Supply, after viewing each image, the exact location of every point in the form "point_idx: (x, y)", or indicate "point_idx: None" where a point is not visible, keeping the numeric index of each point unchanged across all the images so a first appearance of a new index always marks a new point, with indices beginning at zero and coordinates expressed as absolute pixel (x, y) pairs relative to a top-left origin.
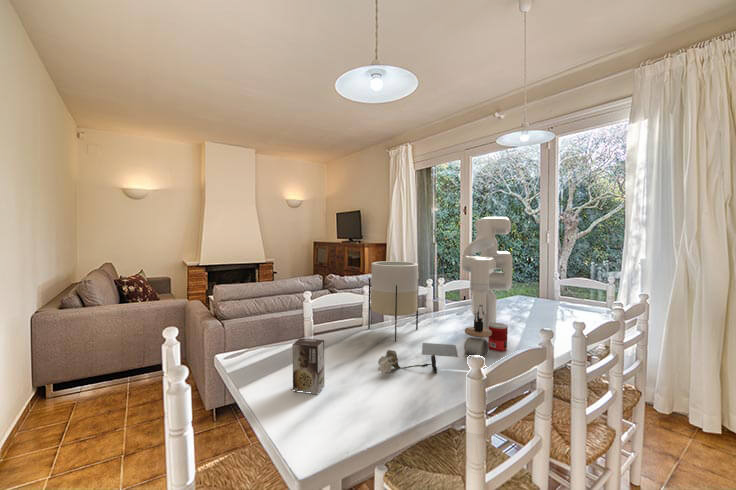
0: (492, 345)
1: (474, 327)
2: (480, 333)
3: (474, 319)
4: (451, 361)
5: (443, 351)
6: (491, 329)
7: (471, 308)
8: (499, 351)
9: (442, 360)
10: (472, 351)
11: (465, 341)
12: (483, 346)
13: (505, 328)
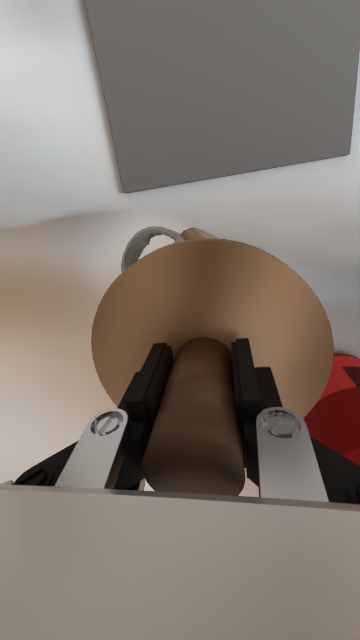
0: None
1: (231, 346)
2: (126, 374)
3: (249, 404)
4: (66, 157)
5: (184, 73)
6: (356, 449)
7: (304, 636)
8: None
9: (55, 96)
10: None
11: (196, 238)
12: None
13: None
